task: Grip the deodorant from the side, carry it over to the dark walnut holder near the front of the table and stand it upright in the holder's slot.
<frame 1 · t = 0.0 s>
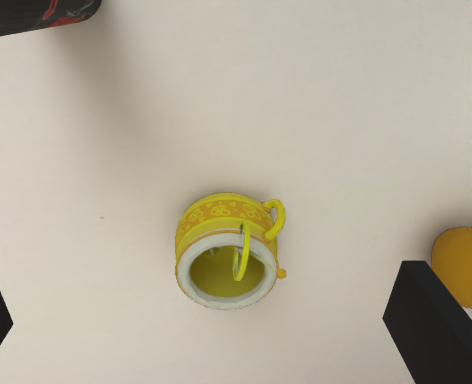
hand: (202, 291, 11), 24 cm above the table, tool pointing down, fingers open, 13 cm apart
apple: (448, 239, 42), on the table
mug: (233, 222, 39), on the table
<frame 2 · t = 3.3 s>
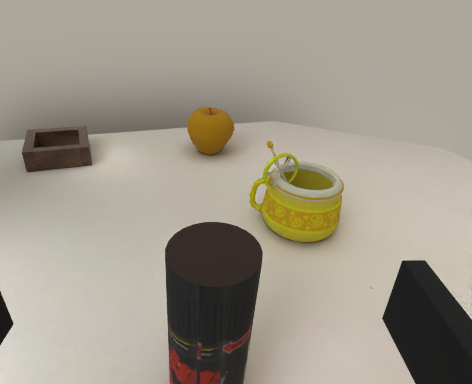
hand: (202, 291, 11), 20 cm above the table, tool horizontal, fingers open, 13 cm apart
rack: (60, 156, 63), on the table
apple: (209, 152, 69), on the table
mug: (290, 223, 50), on the table
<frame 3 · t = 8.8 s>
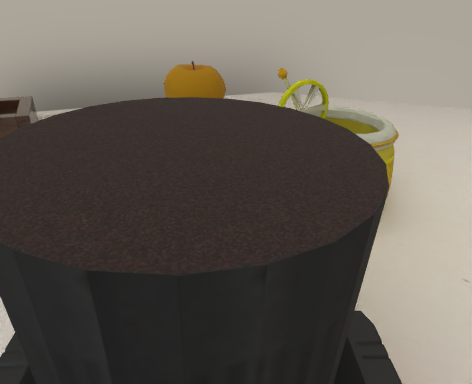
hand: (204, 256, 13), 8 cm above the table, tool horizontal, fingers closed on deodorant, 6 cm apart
apple: (195, 123, 54), on the table
mug: (315, 197, 35), on the table
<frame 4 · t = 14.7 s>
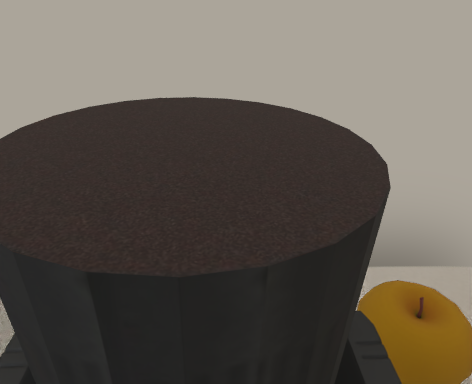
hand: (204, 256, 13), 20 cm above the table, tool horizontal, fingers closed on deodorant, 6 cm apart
apple: (395, 373, 31), on the table
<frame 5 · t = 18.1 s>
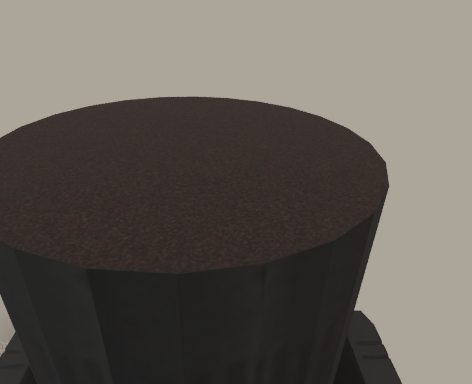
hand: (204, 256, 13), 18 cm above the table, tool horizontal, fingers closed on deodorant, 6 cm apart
when the fingers open (8 cm above the table, at t = 20.9 s): deodorant stays where it is, resting in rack.
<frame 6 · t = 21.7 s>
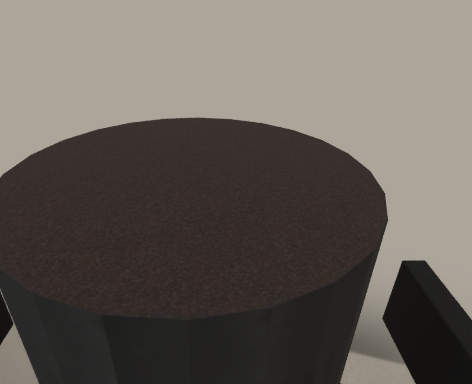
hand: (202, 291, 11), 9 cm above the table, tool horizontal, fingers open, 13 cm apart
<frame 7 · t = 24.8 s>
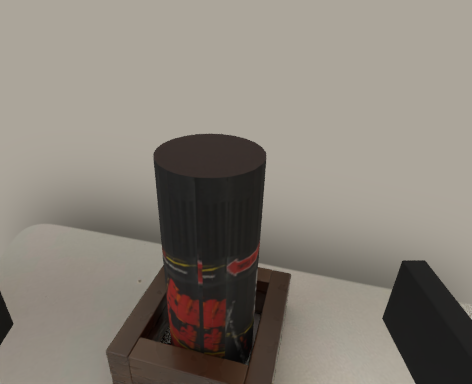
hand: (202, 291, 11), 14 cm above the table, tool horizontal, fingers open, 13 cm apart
deodorant: (212, 342, 26), resting in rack
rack: (211, 340, 26), on the table
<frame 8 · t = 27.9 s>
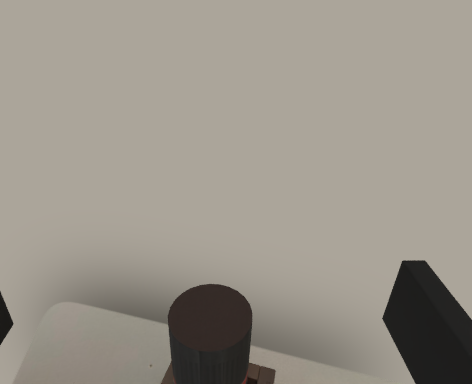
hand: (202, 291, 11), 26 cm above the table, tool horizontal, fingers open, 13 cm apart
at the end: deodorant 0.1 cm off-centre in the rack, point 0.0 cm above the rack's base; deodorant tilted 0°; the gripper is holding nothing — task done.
